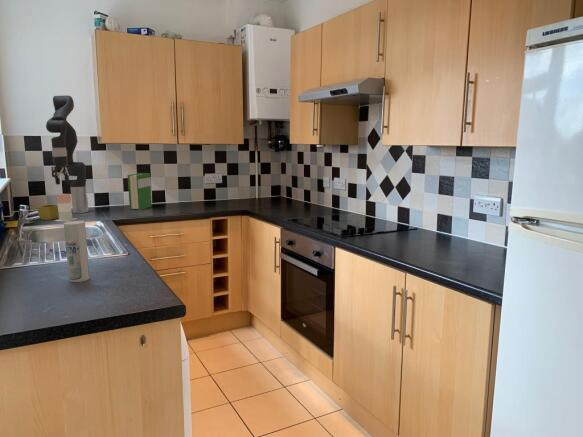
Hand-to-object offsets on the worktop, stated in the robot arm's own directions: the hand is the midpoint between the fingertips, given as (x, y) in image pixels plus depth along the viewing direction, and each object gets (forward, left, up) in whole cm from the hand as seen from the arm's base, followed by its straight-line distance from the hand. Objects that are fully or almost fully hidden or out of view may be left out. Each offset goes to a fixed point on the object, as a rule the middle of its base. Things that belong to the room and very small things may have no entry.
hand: (62, 183), depth 258 cm
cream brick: (0, 0, -16) cm, 16 cm away
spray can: (+103, +74, -23) cm, 129 cm away
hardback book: (-54, +21, -23) cm, 62 cm away
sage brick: (0, 0, -21) cm, 21 cm away
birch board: (0, 0, -22) cm, 22 cm away
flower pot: (0, -11, -23) cm, 25 cm away
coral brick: (0, 0, -11) cm, 11 cm away
